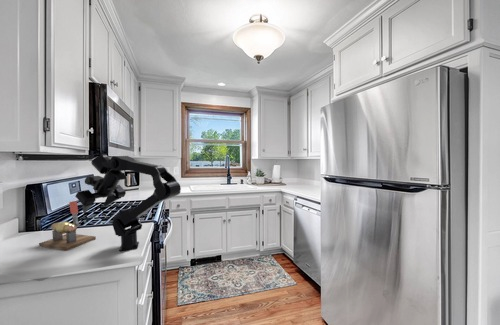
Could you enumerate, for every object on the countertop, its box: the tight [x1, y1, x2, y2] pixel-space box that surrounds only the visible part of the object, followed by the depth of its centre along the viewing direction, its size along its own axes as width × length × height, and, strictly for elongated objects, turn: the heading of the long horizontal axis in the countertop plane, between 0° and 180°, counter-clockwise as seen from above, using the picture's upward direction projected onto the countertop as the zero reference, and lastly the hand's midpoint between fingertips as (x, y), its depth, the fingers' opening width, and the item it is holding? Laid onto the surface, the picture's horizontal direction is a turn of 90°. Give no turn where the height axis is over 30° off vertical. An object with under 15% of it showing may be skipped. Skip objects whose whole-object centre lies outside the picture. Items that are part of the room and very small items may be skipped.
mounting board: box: [38, 233, 96, 251], centre depth 98 cm, size 16×12×1 cm
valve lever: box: [68, 200, 80, 227], centre depth 101 cm, size 2×2×11 cm
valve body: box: [50, 221, 78, 244], centre depth 97 cm, size 11×6×8 cm, turn 73°
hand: (94, 208), depth 98 cm, fingers open, 9 cm apart
